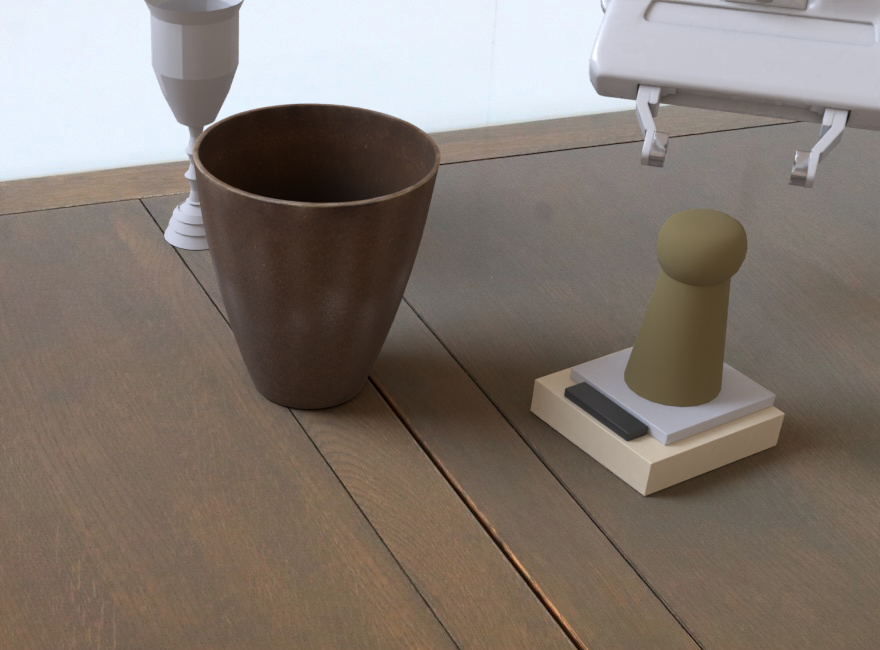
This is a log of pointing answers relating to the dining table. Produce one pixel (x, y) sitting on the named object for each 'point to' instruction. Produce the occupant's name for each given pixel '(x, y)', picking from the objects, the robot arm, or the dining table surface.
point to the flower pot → (313, 239)
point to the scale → (655, 423)
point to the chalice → (193, 83)
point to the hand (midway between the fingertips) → (725, 173)
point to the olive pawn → (687, 310)
